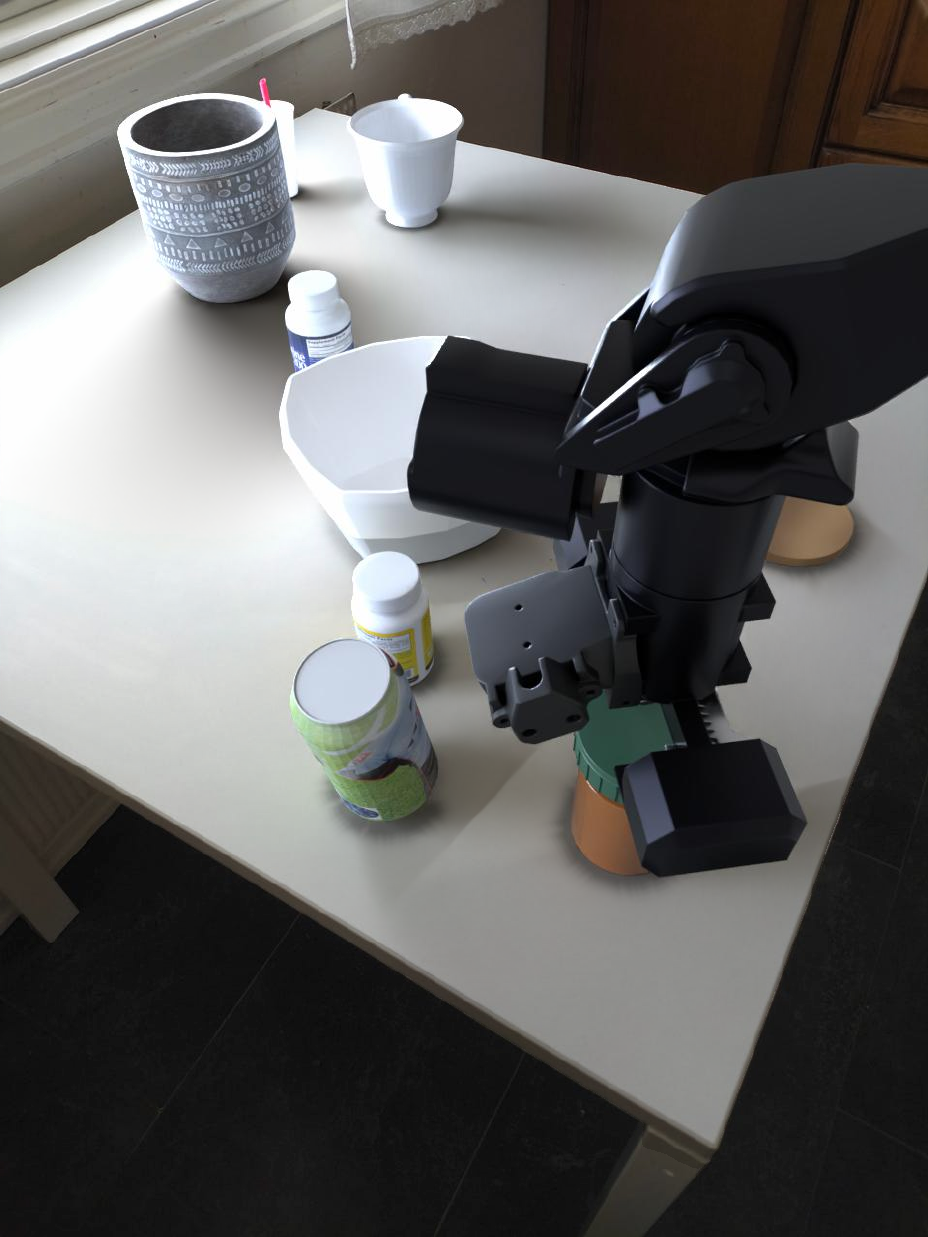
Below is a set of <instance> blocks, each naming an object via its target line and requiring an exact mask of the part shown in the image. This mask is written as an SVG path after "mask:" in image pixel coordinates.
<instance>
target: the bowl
mask: <svg viewBox="0 0 928 1237" xmlns="http://www.w3.org/2000/svg"><path fill="white" fill-rule="evenodd" d="M446 336H447V335H430V336H429V335H424V336H423V335H421V336H413V337H406V338H399V339H393V340H385V341H384V340H383V341H380V342H379V341H378V342H371V343H368V344H366V345H362V346H358V347H356V348H355V347H354V348H355V349H352V350H349V351H346V352H343V353H339V354H336V355H333V356H330V357H327V358H325V359H323V360H321V361H319V362H317V363H315V364H313V365H310V366H308V367H306V368H304V369H302V370H300V371H298V372H293V373H292V374H291V375H289V376H288V379H287V381H286V384H285V388H284V393H283V396H282V400H281V405H280V409H279V424H280V432H281V439H282V447H283V450H284V451H285V452H286V454H287V455H288V457H289V459H290V460H291V461H292V463H293V464H294V466H295V468H296V469H297V471H298V472H299V474H300V476H301V477H302V478H303V480H304V481H305V482H306V484H307V485H308V487H309V488H310V490H311V491H312V492H313V494H314V496H315V497H316V498H317V499H318V501H319V503H320V504H321V506H322V507H323V508H324V510H325V511H326V513H327V515H329V517H331V519H332V520H333V522H334V523H335V525H336V526H337V527H338V529H339V530H340V531H341V533H342V534H343V536H344V538H346V541H348V543H349V544H350V546H351V547H352V548H353V550H354V551H356V553H357V554H359V556H360V557H362V559H365V558H366V557H368V556H370V555H373V554H376V553H379V552H398V553H402V554H404V555H406V556H408V557H410V558H411V559H412V560H413V561H414V562H415V563H416V564H417V565H418V564H423V563H429V562H435V561H441V560H445V559H447V558H450V557H452V556H455V555H458V554H460V553H463V552H464V551H465V552H466V551H468V550H471V549H473V548H475V547H477V546H479V545H481V544H483V543H484V542H486V541H488V540H490V539H491V538H493V537H495V536H496V535H497V534H499V532H500V531H501V529H502V528H499V527H494V526H490V525H485V524H480V523H475V522H471V521H466V520H461V519H457V518H452V517H447V516H442V515H438V514H433V513H428V512H423V511H419V510H417V509H416V508H415V507H413V505H412V502H411V500H410V497H409V491H408V486H407V468H408V465H409V463H410V461H411V459H412V458H413V450H414V442H415V435H416V430H417V425H418V420H419V416H420V412H421V408H422V405H423V402H424V398H425V395H426V392H427V387H426V371H425V368H426V366H427V364H428V363H429V361H430V359H431V358H432V356H433V355H434V353H435V351H436V350H437V348H438V346H439V345H440V343H441V342H442V340H443V339H444V338H445V337H446ZM454 336H455V337H461V338H467V339H471V337H468V336H466V335H454Z"/></svg>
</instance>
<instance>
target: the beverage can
mask: <svg viewBox="0 0 928 1237" xmlns="http://www.w3.org/2000/svg"><path fill="white" fill-rule="evenodd" d="M290 690H291V691H290V694H289V695H290V696H289V709H290V710H289V711H290V715H291V719H292V720H293V723H294V725H295V727H296V728H297V730H298V732H299V733H300V735H301V737H302V738H303V740H304V741H305V743H306V745H307V746H308V748H309V749H310V751H311V753H312V754H313V756H314V757H315V759H316V760H317V762H318V763H319V765H320V767H321V768H322V770H323V772H324V773H325V775H326V776H327V778H328V780H329V781H330V782H331V784H332V786H333V788H334V789H335V790H336V792H337V794H338V795H339V797H340V798H341V800H342V802H343V803H344V805H345V806H346V807H347V808H348V809H349V810H350V811H351V812H352V813H354V814H355V815H357V816H359V818H360V817H361V818H363V819H365V820H368V821H373V822H391V821H396V820H399V819H402V818H405V817H407V816H409V815H411V814H413V813H414V812H415V811H418V809H419V808H420V807H422V806H423V805H424V804H425V802H426V801H427V800H428V799H429V797H430V796H431V794H432V793H433V791H434V789H435V786H436V784H437V781H438V777H439V776H438V775H439V761H438V757H437V753H436V750H435V748H434V745H433V743H432V739H431V738H430V735H429V732H428V730H427V726H426V724H425V722H424V719H423V716H422V714H421V711H420V709H419V706H418V703H417V700H416V698H415V695H414V693H413V690H412V686H410V685H409V682H408V679H407V677H406V674H405V672H404V670H403V668H402V666H401V664H400V663H399V662H398V661H397V659H396V658H395V657H394V656H393V655H391V654H390V653H389V652H388V651H386V650H384V649H383V648H381V647H379V646H376V645H374V644H372V643H370V642H368V641H366V640H363V639H358V638H357V637H341V638H336V639H332V640H330V641H327V642H325V643H323V644H320V645H319V646H317V647H316V648H314V649H313V650H312V651H310V652H309V653H308V654H307V655H306V656H305V657H304V658H303V660H302V661H301V662H300V664H299V665H298V667H297V669H296V671H295V674H294V676H293V681H292V687H291V689H290Z"/></svg>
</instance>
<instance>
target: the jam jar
mask: <svg viewBox="0 0 928 1237" xmlns="http://www.w3.org/2000/svg"><path fill="white" fill-rule="evenodd" d="M576 773H577V774H576V778H575V779H576V780H575V787H574V788H575V789H574V795H573V802H572V807H571V808H572V809H571V816H570V830H571V834H572V836H573V841H574V842H575V843H576V846H577V848H578V849H579V851H580V852H581V853H582V854H583V856H585V858H587V860H588V861H589V862H591V864H594V865H595V866H597V868H600V869H602V870H604V871H606V872H609V873H612V874H617V875H621V876H637V875H642V874H647V873H650V872H649V871H648V870H646V869H645V868H643V867H641V864H640V861H639V857H638V854H637V850H636V846H635V843H634V839H633V836H632V832H631V829H630V825H629V821H628V818H627V815H626V812H625V809H624V805H622V804H620V803H617V802H613V800H611V799H609V798H607V797H606V796H604V795H603V794H601V793H600V792H599V793H598V792H597V790H596V789H595V788H594V787H593V786H592V785H591V784H590V783H589V782H588V781H587V780H585V776H584V775H583V773H582V772H581V770H580V768H579V766H577V772H576Z"/></svg>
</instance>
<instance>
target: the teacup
mask: <svg viewBox="0 0 928 1237" xmlns="http://www.w3.org/2000/svg"><path fill="white" fill-rule="evenodd" d="M464 124H465V119H464V117H463V115H462V113H460V111H459V110H457V108H455V107H453V106H452V105H449V104H448V103H445V102H442V101H438V100H433V99H426V98H412V95H411V94H409V93H402V94H400V95H399V96H398V98H395V99H389V100H383V101H379V102H375V103H372V104H369V105H366V106H365V107H362V108H360V109H359V110H357V111H356V112H355V113H353V115H352V116H351V117H350V118H349V120H348V121H347V124H346V125H347V126H346V127H347V130H348V132H349V133H350V135H352V136H353V137H354V139H355V142H356V146H357V150H358V153H359V157H360V162H361V166H362V172H363V175H364V180H365V184H366V187H367V189H368V193H369V196H370V197H371V199H372V201H373V202H374V203H375V204H376V205H377V207H379V208H380V209H382V210H384V211H385V212H386V213H385V217H386V220H387V221H388V222H389V223H390V224H392V225H394V226H396V227H400V228H405V229H406V228H407V229H408V228H409V229H410V228H412V229H413V228H421V227H424V226H427V225H429V224H431V223H433V222H434V221H435V220H436V219H437V217H438V208H440V207H441V206H442V205H443V204H444V203H445V202H446V200H447V199H448V197H449V196H450V193H451V190H452V187H453V186H452V185H453V179H454V172H455V170H454V169H455V157H456V148H457V138H458V134H459V131H460V130H461V129H462V128H463V127H464Z"/></svg>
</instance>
